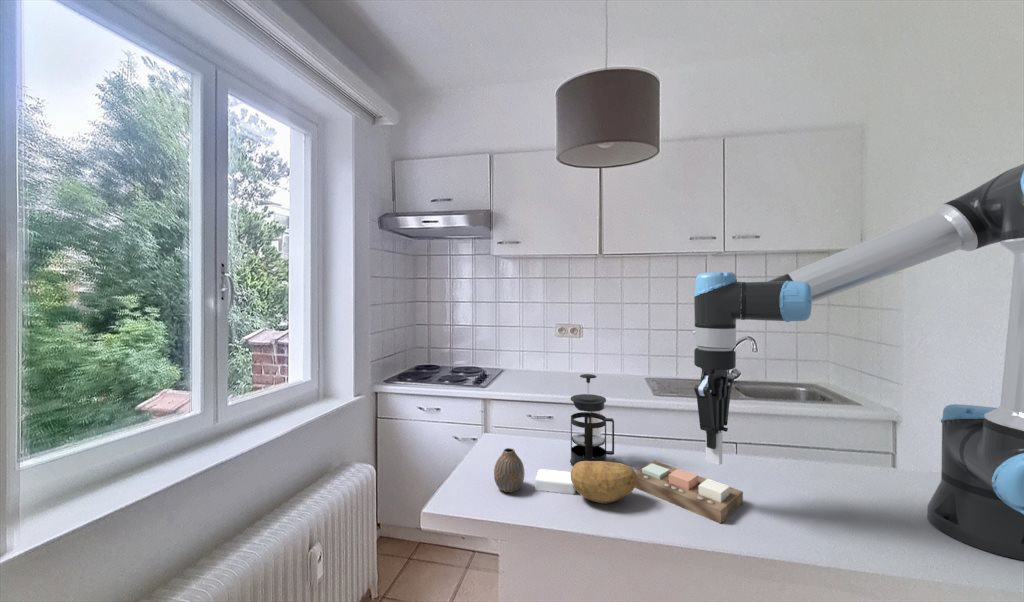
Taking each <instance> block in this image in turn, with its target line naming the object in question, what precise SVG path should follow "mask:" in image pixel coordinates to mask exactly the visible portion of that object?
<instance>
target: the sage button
mask: <svg viewBox="0 0 1024 602" xmlns="http://www.w3.org/2000/svg"><path fill="white" fill-rule="evenodd" d="M645 466H646V465H645ZM643 467H644V466H643ZM641 468H642V467H641ZM642 473H644V474H647V475H650V476H652V477H655V478H657V479H662V478H664V477H665V476H667V475H669V474H670V469H667V468H664V467H661V466H658V465H656V464H653V463H652V464H650V465H648V466H646V467H644V468H642Z"/></svg>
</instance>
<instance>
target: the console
mask: <svg viewBox="0 0 1024 602" xmlns="http://www.w3.org/2000/svg"><path fill="white" fill-rule="evenodd" d="M652 463H653V464H656V465H658V466H661V467H664V468H667V469H670V473H672V472H673V471H675V470H677V469H678V468H677V467H674V466H671V465H668V464H664V463H662V462H660V461H656V460H653V461H651V462H649V463H648V464H646V465H643V466H642V467H640V468H638V469H636V470H634V472H635V473H636V475H637V478H638V480H637V483H636V485H635V487H634V489H637V490H640V491H642V492H643V493H644V492H645V493H646V494H649V495H652V496H654V497H657V498H658V499H661V500H663V501H666V502H668V503H671V504H673V505H675V506H677V507H680V508H683V509H685V510H688V511H690V512H692V513H695V514H697V515H700V516H702V517H704V518H706V519H709V520H711V521H713V522H716V523H719V524H722V523H723V522H724V521H725V520H727V518H728V517H730V516H731V515H732V514H733V513H734V512H735V511H736V510H737V509H738V508H739V507H741V506H742V505H743V502H744V500H743V499H744V492H743V491H742V490H740V489H737V488H734V487H732V486H730V497H728V498H727V499H726V500H725V501H724V502H722V503H721V502H718V501H715V500H713V499H710V498H707V497H705V496H702V495H700V494H699V485H700V484H701V483H702V482H704V481H705V480H707V479H708V478H705V477H703V476H699V475H698V485H696V486H695V487H694V488H692V489H691V490H686V489H684V488H681V487H678V486H676V485H673V484H671V483H669V475H667V476H665V477H664V478H662V479H657V478H655V477H652V476H650V475H647V474H644V473H642V468H644V467H646V466H648V465H650V464H652Z"/></svg>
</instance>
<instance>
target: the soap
mask: <svg viewBox="0 0 1024 602" xmlns="http://www.w3.org/2000/svg"><path fill="white" fill-rule="evenodd" d="M534 489H535V490H536V491H538V490H541V491H540V492H547V491H549V492H550V493H556V492H557V494H567V495H575V494H576V492H577V490H576V488H575V487H574V485H573V483H572V481H571V471H563V470H555V469H544V468H543V469H542V468H540V469H539V470H538V471H537V474H536V477H535V479H534ZM549 492H548V493H549Z"/></svg>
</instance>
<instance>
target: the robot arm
mask: <svg viewBox="0 0 1024 602" xmlns="http://www.w3.org/2000/svg"><path fill="white" fill-rule="evenodd" d="M997 243H999V244H1000V245H1001V246H1003V247H1004V248H1005V249H1007V250H1009V251H1010V252H1012V253H1013V255H1014V258H1013V267H1012V276H1011V277H1012V278H1011V290H1010V291H1011V292H1010V300H1009V301H1010V302H1009V310H1008V311H1009V312H1008V320H1007V321H1008V322H1007V329H1006V330H1007V333H1006V342H1005V354H1004V363H1003V372H1002V373H1003V374H1002V385H1001V395H1000V396H1001V397H1000V405H999V406H998V407H992V406H982V405H971V404H948V405H946V406H945V407H944V408H943V411H942V418H941V419H940V422H941V469H940V470H941V471H940V472H941V475H940V477H941V478H940V479H941V480H940V482H939V484H938V486H937V488H936V489H935V491H934V493H933V495H932V497H931V499H930V500H929V502H928V504H927V508H926V509H927V510H926V511H927V512H926V513H927V515H926V518H927V520H928V521H929V523H930V524H931V525H932V526H933V527H935V528H936V529H937V530H939V531H940V532H942V533H944V534H945V535H947V536H949V537H951V538H953V539H955V540H957V541H959V542H962V543H964V544H967V545H969V546H972V547H974V548H978V549H980V550H982V551H986V552H989V553H991V554H996V555H999V556H1003V557H1006V558H1011V559H1014V560H1015V559H1016V560H1021V561H1024V163H1022V164H1020V165H1017V166H1015V167H1012V168H1010V169H1008V170H1006V171H1004V172H1001V174H998V175H997V176H995V177H993V178H991V179H990V180H988V181H986V182H984V183H982V184H980V185H979V186H978V187H975V188H973V189H972V190H970V191H968V192H967V193H964V194H961V196H958V197H956V198H954V199H951V200H950V201H947V202H945V203H942V204H939V205H938V206H937V207H936V209H935V212H934V213H933V214H930V215H928V216H925V217H922V218H920V219H917V220H916V221H912V222H911V223H908V224H905V225H903V226H901V227H898V228H895V229H893V230H891V231H888V232H885V233H882V234H881V235H879V236H875V237H874V238H871V239H868V240H866V241H864V242H861V243H858V244H856V245H853V246H851V247H849V248H846V249H845V250H844V249H843V250H842V251H840V252H837V253H834V254H831V255H829V256H827V257H824V258H823V259H820V260H818V261H815V262H812V263H809V264H808V265H804V266H803V267H800V268H798V269H796V270H792V271H791V272H788V273H787V274H786V273H785V274H783V275H781V276H778V277H775V278H773V279H771V280H768V281H751V282H750V281H748V282H746V281H738V278H737V275H736V273H734V272H727V271H724V272H723V271H722V272H719V271H718V272H715V271H714V272H702V273H699V274H697V275H696V277H695V284H694V295H693V298H694V299H693V300H694V330H693V331H692V334H693V335H694V345H695V346H696V348H695V349H694V350H693V351H694V353H693V354H694V355H693V356H694V360H693V361H694V366H696V367H697V368H700V369H701V374H700V385H697V384H695V386H694V387H693V390H694V393H695V396H696V402H697V409H698V410H697V412H698V419H699V428H700V431H705V462H706V463H711V464H712V465H716V466H720V465H722V464H723V432H728V427H725V426H727V425H728V420H729V412H730V411H729V409H730V400H731V391H732V386H733V383H734V380H733V378H730V377H728V371H730V370H733V369H735V368H736V359H737V358H736V357H737V356H736V351H735V350H734V349H735V348H736V347H737V328H736V321H737V320H741V321H745V320H748V321H749V320H750V321H766V322H767V321H769V322H771V321H772V322H776V321H777V322H786V323H789V322H806V321H807V320H809V319H810V317H811V314H812V313H811V312H812V304H813V303H815V302H818V301H820V300H824V299H826V298H829V297H831V296H834V295H837V294H839V293H843V292H845V291H848V290H851V289H854V288H856V287H859V286H862V285H864V284H868V283H871V282H872V281H873V282H874V281H876V280H879V279H881V278H884V277H886V276H890V275H892V274H895V273H897V272H900V271H904V270H906V269H909V268H911V267H914V266H917V265H920V264H922V263H925V262H928V261H931V260H933V259H937V258H939V257H942V256H944V255H947V254H950V253H952V252H956V251H959V250H961V251H966V252H971V251H975V250H978V249H980V248H984V247H986V246H989V245H992V244H997Z"/></svg>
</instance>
